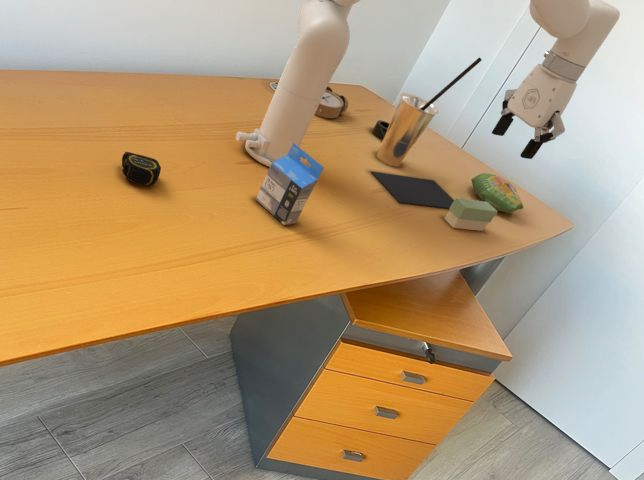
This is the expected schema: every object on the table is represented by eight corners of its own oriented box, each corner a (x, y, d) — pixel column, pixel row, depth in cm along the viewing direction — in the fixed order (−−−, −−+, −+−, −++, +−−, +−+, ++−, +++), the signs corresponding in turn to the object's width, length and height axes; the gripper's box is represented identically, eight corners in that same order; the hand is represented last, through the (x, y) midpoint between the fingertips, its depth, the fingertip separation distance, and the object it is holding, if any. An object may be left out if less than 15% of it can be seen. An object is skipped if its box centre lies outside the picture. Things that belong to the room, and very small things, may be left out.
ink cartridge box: (253, 199, 136) (279, 142, 129) (267, 198, 139) (293, 141, 131) (283, 226, 132) (311, 168, 124) (296, 224, 134) (325, 167, 127)
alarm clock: (295, 89, 185) (328, 77, 193) (289, 106, 189) (322, 94, 197) (327, 110, 181) (360, 97, 189) (321, 127, 184) (353, 113, 193)
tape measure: (155, 174, 131) (161, 157, 129) (156, 193, 126) (163, 174, 124) (119, 165, 129) (125, 147, 127) (120, 184, 124) (125, 165, 122)
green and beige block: (452, 228, 157) (466, 207, 154) (442, 218, 160) (455, 197, 156) (483, 231, 161) (498, 211, 158) (473, 221, 164) (487, 201, 161)
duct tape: (362, 131, 186) (368, 121, 185) (376, 126, 194) (381, 116, 192) (387, 145, 184) (392, 135, 182) (400, 139, 191) (405, 129, 190)
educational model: (477, 210, 170) (490, 191, 167) (460, 180, 182) (472, 161, 179) (522, 225, 172) (536, 207, 169) (502, 194, 184) (515, 176, 181)
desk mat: (399, 202, 158) (399, 201, 158) (370, 172, 167) (371, 171, 166) (462, 210, 167) (463, 209, 167) (432, 181, 175) (433, 180, 175)
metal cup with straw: (412, 178, 172) (482, 59, 153) (370, 161, 172) (435, 40, 153) (409, 161, 181) (476, 46, 162) (369, 145, 180) (431, 28, 161)
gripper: (521, 46, 142) (474, 124, 152) (580, 83, 131) (524, 165, 141) (546, 52, 145) (498, 128, 156) (605, 90, 134) (549, 169, 144)
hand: (511, 145), depth 148 cm, fingers open, 9 cm apart
